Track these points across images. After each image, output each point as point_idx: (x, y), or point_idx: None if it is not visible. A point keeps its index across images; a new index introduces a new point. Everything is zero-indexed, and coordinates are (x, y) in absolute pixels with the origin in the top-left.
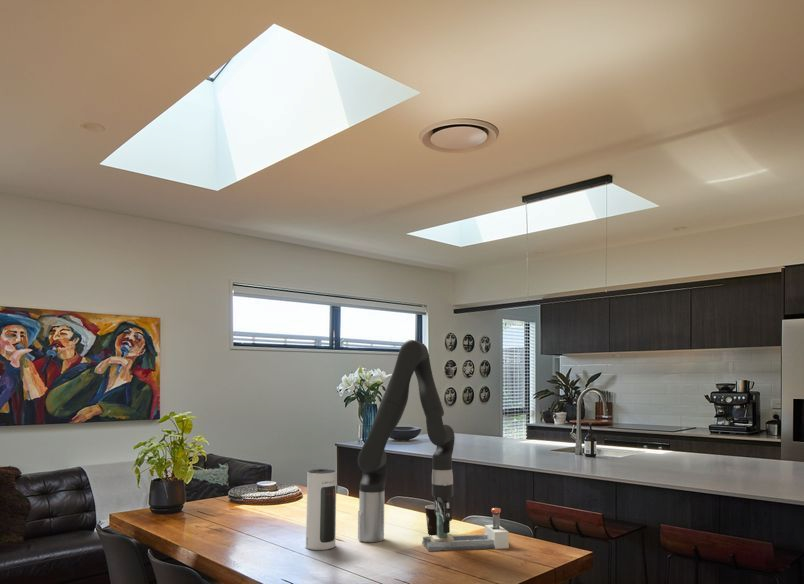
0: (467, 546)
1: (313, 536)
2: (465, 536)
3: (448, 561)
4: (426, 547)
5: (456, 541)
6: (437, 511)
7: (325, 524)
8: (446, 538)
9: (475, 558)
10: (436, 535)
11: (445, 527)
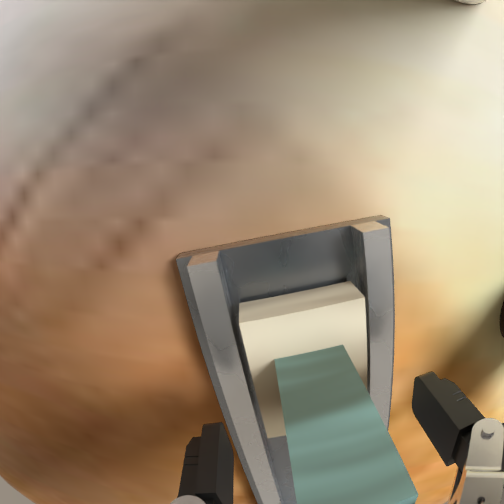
0: (241, 458)
1: None
2: None
3: (22, 339)
4: (250, 241)
5: (241, 439)
6: (461, 483)
7: None
8: (264, 403)
9: (100, 445)
10: (361, 340)
11: (184, 466)
